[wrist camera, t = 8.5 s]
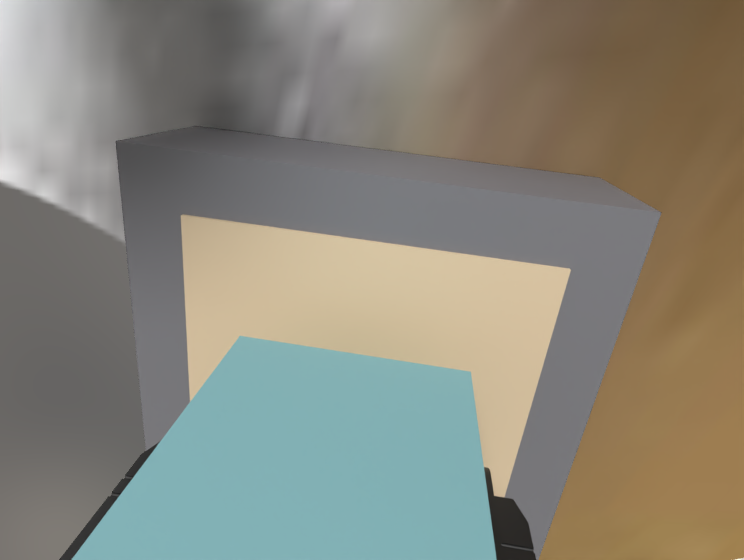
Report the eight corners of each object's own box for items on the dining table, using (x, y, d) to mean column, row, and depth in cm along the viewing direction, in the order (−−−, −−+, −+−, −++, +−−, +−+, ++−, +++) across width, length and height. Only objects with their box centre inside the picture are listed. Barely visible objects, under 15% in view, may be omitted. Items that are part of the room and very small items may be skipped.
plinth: (599, 177, 14) (663, 214, 10) (508, 489, 18) (528, 593, 15) (195, 126, 14) (112, 141, 11) (206, 438, 19) (151, 524, 15)
